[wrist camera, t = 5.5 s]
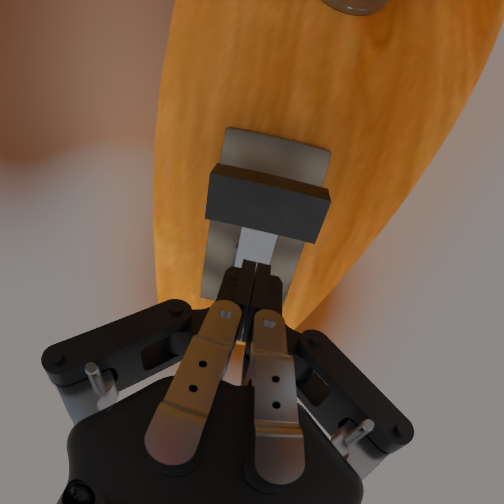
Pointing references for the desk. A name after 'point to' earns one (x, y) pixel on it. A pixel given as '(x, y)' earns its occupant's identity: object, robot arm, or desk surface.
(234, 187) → the lever
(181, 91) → the desk surface
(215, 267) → the base
